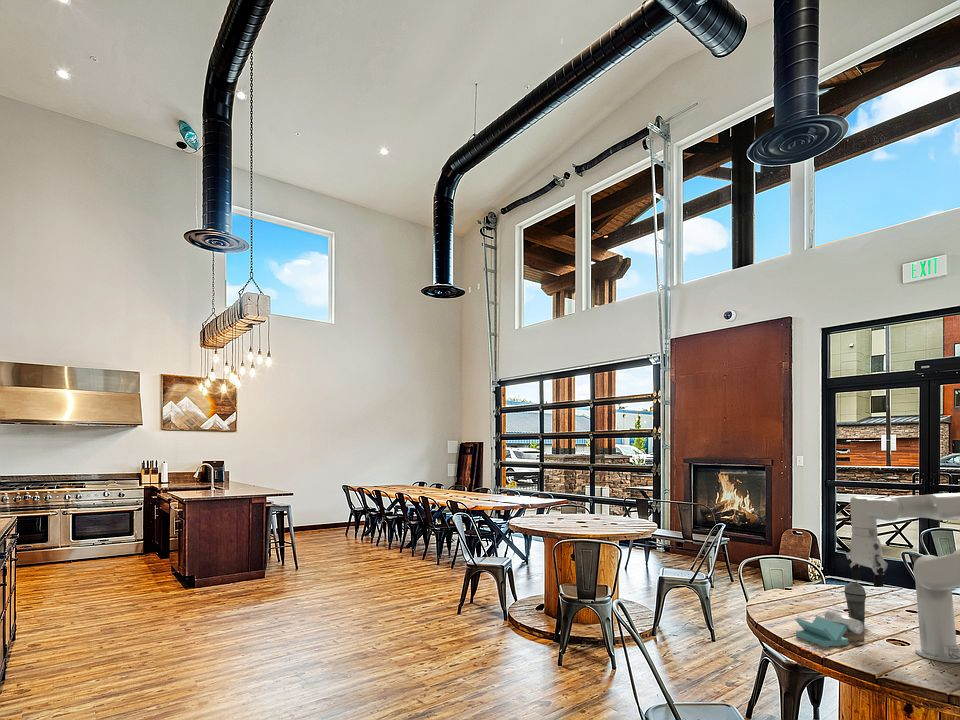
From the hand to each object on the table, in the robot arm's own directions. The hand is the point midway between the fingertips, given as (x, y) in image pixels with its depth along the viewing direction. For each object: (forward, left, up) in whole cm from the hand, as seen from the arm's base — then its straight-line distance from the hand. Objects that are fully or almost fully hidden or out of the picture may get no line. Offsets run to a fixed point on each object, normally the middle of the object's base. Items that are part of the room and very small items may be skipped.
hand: (867, 583), depth 207 cm
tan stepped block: (+9, +3, -20) cm, 22 cm away
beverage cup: (+19, -15, -20) cm, 32 cm away
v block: (+7, +14, -20) cm, 26 cm away
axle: (+8, +3, -17) cm, 19 cm away
